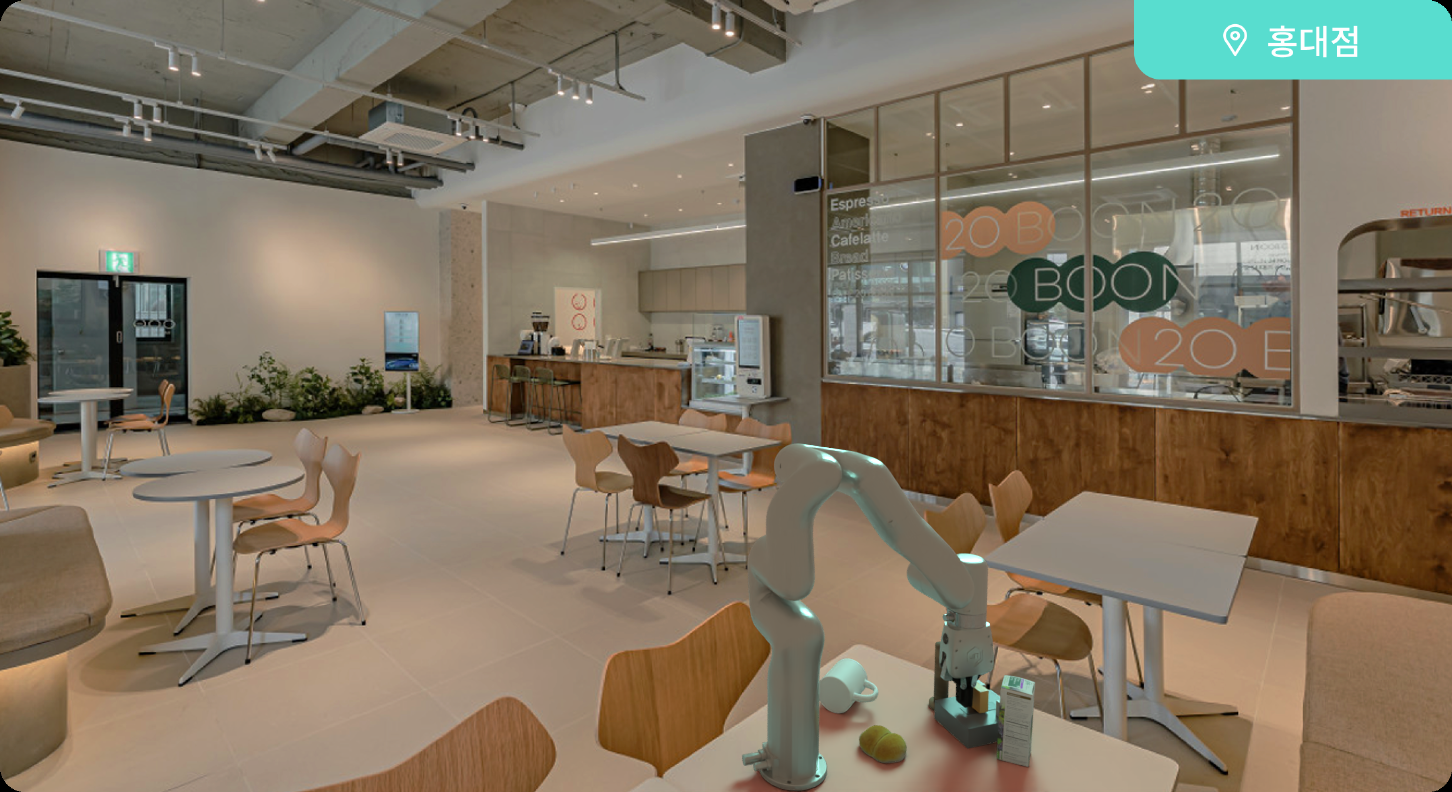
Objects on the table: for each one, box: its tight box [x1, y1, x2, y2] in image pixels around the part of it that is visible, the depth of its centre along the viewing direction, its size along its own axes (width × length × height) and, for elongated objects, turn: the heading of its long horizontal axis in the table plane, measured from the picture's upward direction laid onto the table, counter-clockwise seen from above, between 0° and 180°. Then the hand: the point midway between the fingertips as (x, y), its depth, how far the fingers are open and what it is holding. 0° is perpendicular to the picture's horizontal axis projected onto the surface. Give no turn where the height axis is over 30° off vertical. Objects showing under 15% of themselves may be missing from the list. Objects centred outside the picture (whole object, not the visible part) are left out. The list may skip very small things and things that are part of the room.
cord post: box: [928, 640, 950, 712], centre depth 148 cm, size 5×5×14 cm
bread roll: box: [858, 724, 908, 764], centre depth 134 cm, size 8×9×4 cm
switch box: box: [933, 679, 1000, 749], centre depth 141 cm, size 14×11×7 cm
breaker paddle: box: [972, 682, 990, 713], centre depth 141 cm, size 2×4×4 cm, turn 18°
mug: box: [819, 658, 879, 714], centre depth 150 cm, size 12×10×8 cm
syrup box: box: [996, 674, 1036, 768], centre depth 131 cm, size 6×6×14 cm
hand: (964, 703), depth 140 cm, fingers closed
